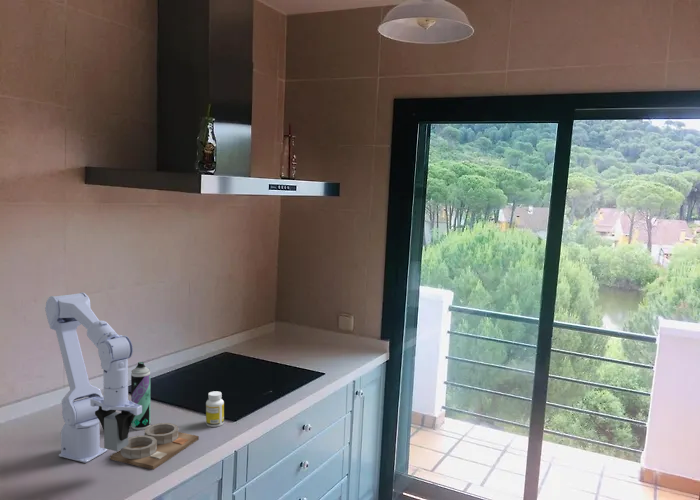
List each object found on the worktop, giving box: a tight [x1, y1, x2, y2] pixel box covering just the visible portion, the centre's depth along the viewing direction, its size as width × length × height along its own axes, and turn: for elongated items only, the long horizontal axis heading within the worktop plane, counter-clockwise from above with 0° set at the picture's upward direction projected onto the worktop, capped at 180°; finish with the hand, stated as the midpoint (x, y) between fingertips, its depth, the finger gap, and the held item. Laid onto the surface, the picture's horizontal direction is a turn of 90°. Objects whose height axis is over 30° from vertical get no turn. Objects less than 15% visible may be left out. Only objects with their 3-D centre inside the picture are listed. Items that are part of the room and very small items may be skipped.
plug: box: [103, 411, 129, 452], centre depth 147 cm, size 4×4×8 cm
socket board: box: [109, 422, 200, 470], centre depth 163 cm, size 14×20×4 cm
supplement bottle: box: [205, 390, 225, 428], centre depth 181 cm, size 5×5×10 cm
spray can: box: [130, 361, 151, 431], centre depth 176 cm, size 6×6×20 cm
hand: (116, 437), depth 147 cm, fingers closed on plug, 4 cm apart
